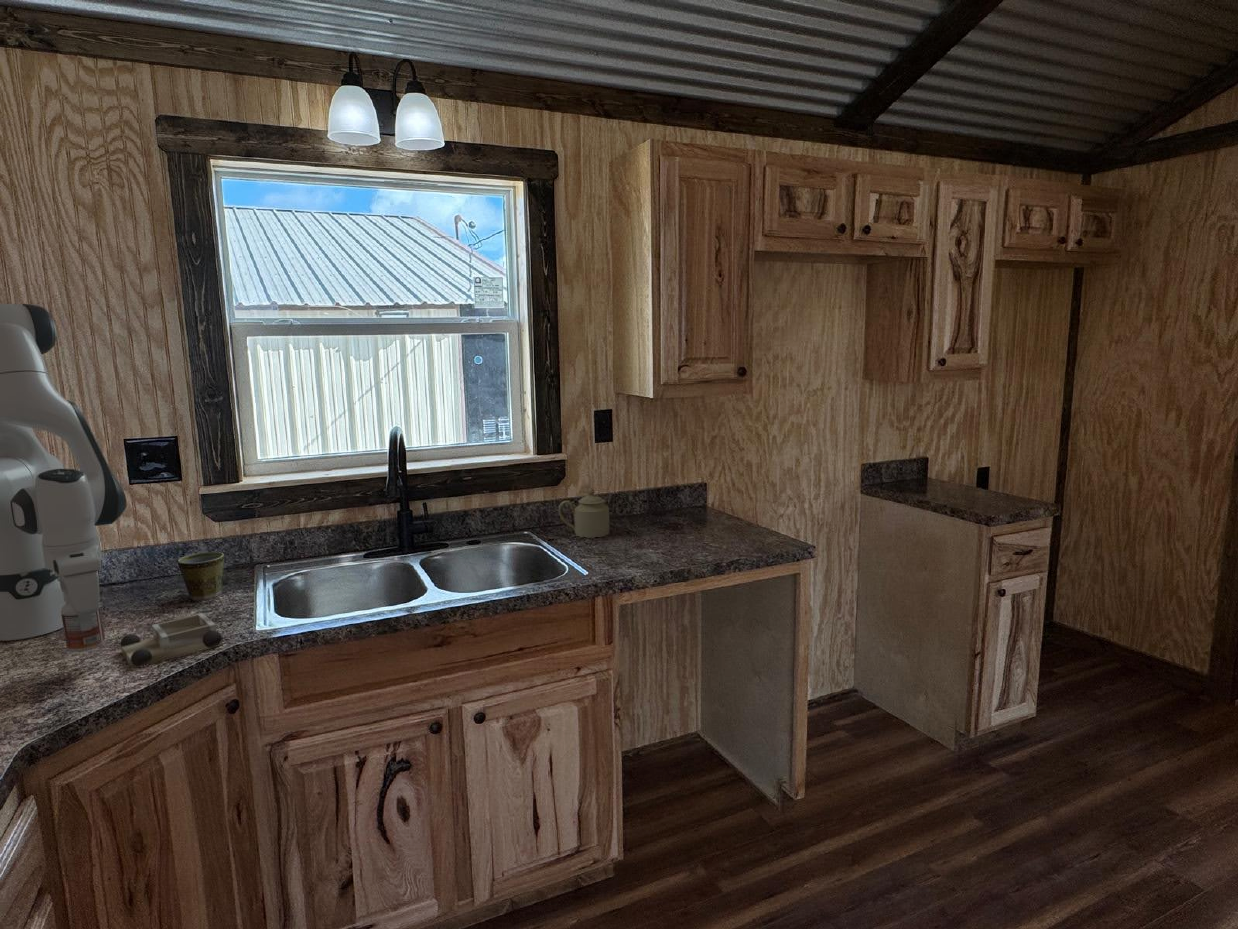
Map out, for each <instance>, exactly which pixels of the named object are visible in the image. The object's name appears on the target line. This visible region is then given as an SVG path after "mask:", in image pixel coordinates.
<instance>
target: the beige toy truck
mask: <svg viewBox="0 0 1238 929" xmlns="http://www.w3.org/2000/svg"><path fill="white" fill-rule="evenodd" d="M216 626H217V625H216V623H214V622H213V621H212V620H211V619H210V618H209V617H208V616H207V615H206V614H205V613H204V612H200V613H196V614H193V615H188V616H184V617H179V618H175V619H172V620H166V621H164V622H163V621H162V622H159V623H155V624H151V630H152V637H150V638H147V639H143V640H141V638H140V637H139V636H138V635H137V634H134V633H130V634H127V635H125V636H124V637H122V638H121V641H120V650H121V654H122V655H123V657H124V659H125V660H126V661H127V662H128V664H129V666H130V665H131V666H130V667H131V668H132V669H133V668H135V669H138V668H142V667H145V666H144V665H146V666H148V665H147V664H150V665H153V664H156V663H155V662H157V663H159V662H158V661H161V662H165V661H168V660H172V659H175V658H180V657H183V656H187V655H189V654H190V655H191V654H194V653H198V652H201V651H205V650H209V649H212V648H216V647H221V646H223V639H222V634H221V633H220V632H218V631H217V628H216ZM141 666H142V667H141ZM137 667H138V668H137Z"/></svg>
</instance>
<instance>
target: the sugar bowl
mask: <svg viewBox="0 0 1238 929" xmlns="http://www.w3.org/2000/svg"><path fill="white" fill-rule="evenodd" d="M587 493H588V495H586V496H585V495H584V496H583V497H581V498H580V499H579V500H578V501H577V502H578V505H577V506H575V505H574V504H573V503H572V502H571V501H570V500H563V501H562V502H561V503H559V505H558V515H559V516H560V518H561V520H562V521H563V522H564V523H565V525H567V526H569V527H570V528H572V529H573V531H574V534H576V535H575V536H576V537H578V536H579V538H582V537H586V538H585V539H596V538H595V537H599V538H603V537H607V536H608V535H609V534H610V508H609V506H608V505H606V504H605V503H604V502H606V500H605V499H604V498H603V497H600V496H598V495H595V490H594V488H593V487H590V488H588V492H587ZM566 504H567V505H568V506H569V507H570V509H571V512H572V516H573V518H574V519H573V520H574V521H573V522H574V523H573V524H572V523H571V522H570V521H569V520H567V519H566V518H565V516H564V514H563V510H562V508H563V506H564V505H566ZM606 535H607V536H606Z"/></svg>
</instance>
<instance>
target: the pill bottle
mask: <svg viewBox="0 0 1238 929" xmlns="http://www.w3.org/2000/svg"><path fill="white" fill-rule="evenodd" d="M63 596H64V602H66V604H65V605H64V606H63V607H62V609H61V616H62V622H63V628H62V629H63V632H64V640H65V644H66V650H68V651H70V652H73V653H75V652H76V653H77V652H85V651H86V652H87V651H90V650H93V649H96V648H99V647H100V646H102V645H103V644H104V643H105V642H106V636H105V630H104V623H103V617H102V611H101V603H99V609H98V611H96V612H92V620H91V621H92V629H90V630H87V631H81V629H80V625H79V618H78V615H76V614H75V612H74V610H73V609H72V607H71V605H70V604H69V600H68V595H67V593H66V592H65V593H64V594H63Z"/></svg>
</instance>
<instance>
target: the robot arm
mask: <svg viewBox="0 0 1238 929" xmlns="http://www.w3.org/2000/svg"><path fill="white" fill-rule="evenodd" d="M56 339H57V327H56V323H55V321H54V320H53V317H52V316H51V314H50V312H49V311H48V310H46V308H44V307H43V306H39V305H35V304H29V303H23V304H16V303H15V304H14V303H6V302H5V303H3V302H0V641H1V642H2V641H6V642H7V641H17V640H24V639H29V638H35V637H39V636H42V635H45V634H49V633H53V632H55V631H57V630H60V629H64V628H63V622H62V616H61V609H62V607H63V606H64V605H65V604H66V602H64V596H63V594H64V593H65V592H66V593H67V595H68V600H69V604H70V605H71V607H72V609H73V610H74V612H75V614H76V615H78V618H79V625H80V629H81V631H87V630H90V629H92V621H91V620H92V612H96V611H98V609H99V604H101V602H100V598H101V597H100V580H99V579H100V578H99V576H100V575H99V570H101V569H102V562H101V561H102V560H103V556H102V551H101V550H102V549H101V539H100V535H99V532H98V530H97V528H96V526H106V525H112V524H113V523H116V521H117V520H119V518H120V517H121V515H122V514H123V513H124V512H125V510H126V509H127V497H126V494H125V491H124V489H123V487H122V485H121V484H120V482H119V481H118V479H117V477H116V476H115V475H114V473H113V472H112V470H111V468H110V466H109V464H108V461H107V460H106V458H105V456H104V454H103V452H102V449H101V447H100V445H99V443H98V442H97V439H96V438H95V435H94V433H93V431H92V429H91V427H90V424H89V423H88V421H87V420H86V418H85V416H84V413H82V410H81V409H80V408H79V407H78V405H77V404H76V403H74V402H73V401H71V400H68V399H66V398H65V397H63V396H62V395H61V394H60V392H58V390H57V389H56V388H55V386H54V385H53V383H52V381H51V378H50V375H49V372H48V368H47V365H46V363H45V360H44V357H43V355H45V354H46V353H48V352H50V350H52V349H53V348H54V347H55V345H56V341H57V340H56ZM34 429H35V430H40V431H43V432H48V433H49V434H52V435H55V436H56V437H59V438H61V439H62V440H63V441H64V442H65V444H66V445H67V446H68V449H69V450H70V452H71V455H72V457H73V459H74V461H75V462H76V464H77V467H78V469H79V470H78V469H76V468H75V469H73V468H64V466H63V465H64V464H62V462H61V460H60V459H58V458H57V457H56V456H55V455H53V454H51V453H50V452H48V450H46V448H45V447H44V446H43V445H42V443H41V441H40V440H39V439H38V437H37V435H36V433H35V431H34ZM58 579H59V580H58Z"/></svg>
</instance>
